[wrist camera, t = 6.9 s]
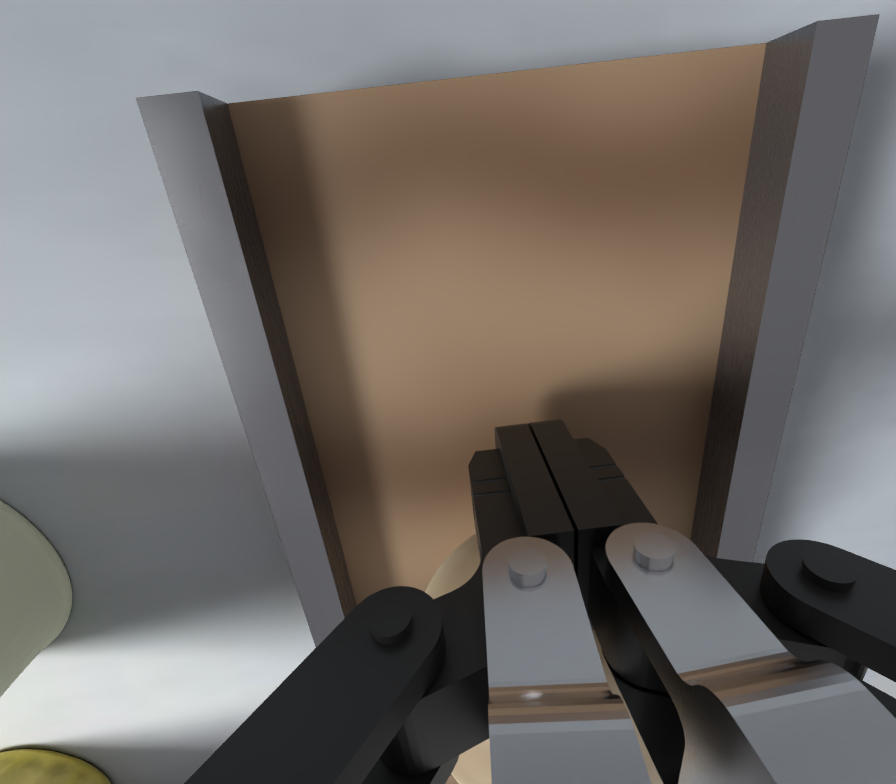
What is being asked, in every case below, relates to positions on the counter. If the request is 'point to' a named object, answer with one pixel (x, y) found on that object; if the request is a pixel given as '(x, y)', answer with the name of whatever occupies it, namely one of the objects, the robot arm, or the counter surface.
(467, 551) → the ball
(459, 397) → the runway
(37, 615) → the can
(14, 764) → the vase
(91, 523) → the counter surface
